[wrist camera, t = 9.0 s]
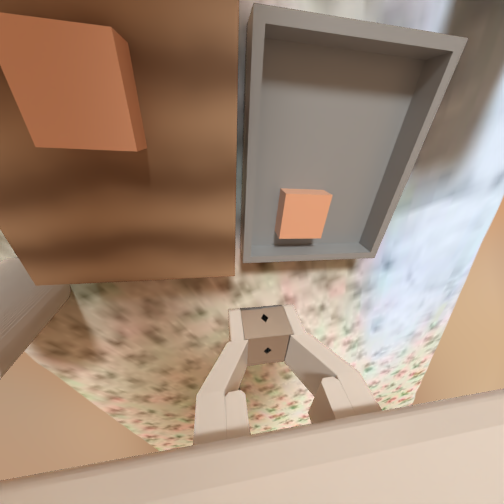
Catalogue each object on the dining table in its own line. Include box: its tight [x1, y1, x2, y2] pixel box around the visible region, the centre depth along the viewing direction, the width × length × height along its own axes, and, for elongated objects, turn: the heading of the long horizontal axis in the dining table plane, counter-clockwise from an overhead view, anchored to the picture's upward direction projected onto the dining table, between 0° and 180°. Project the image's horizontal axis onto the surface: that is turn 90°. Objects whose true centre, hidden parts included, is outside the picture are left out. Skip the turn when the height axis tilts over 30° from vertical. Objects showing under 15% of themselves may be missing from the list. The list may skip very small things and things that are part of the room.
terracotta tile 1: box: [275, 188, 333, 239], centre depth 28 cm, size 6×6×2 cm
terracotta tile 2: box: [0, 12, 147, 152], centre depth 13 cm, size 6×6×2 cm
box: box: [240, 3, 468, 263], centre depth 25 cm, size 24×20×4 cm
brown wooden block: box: [0, 0, 239, 286], centre depth 20 cm, size 22×20×8 cm
